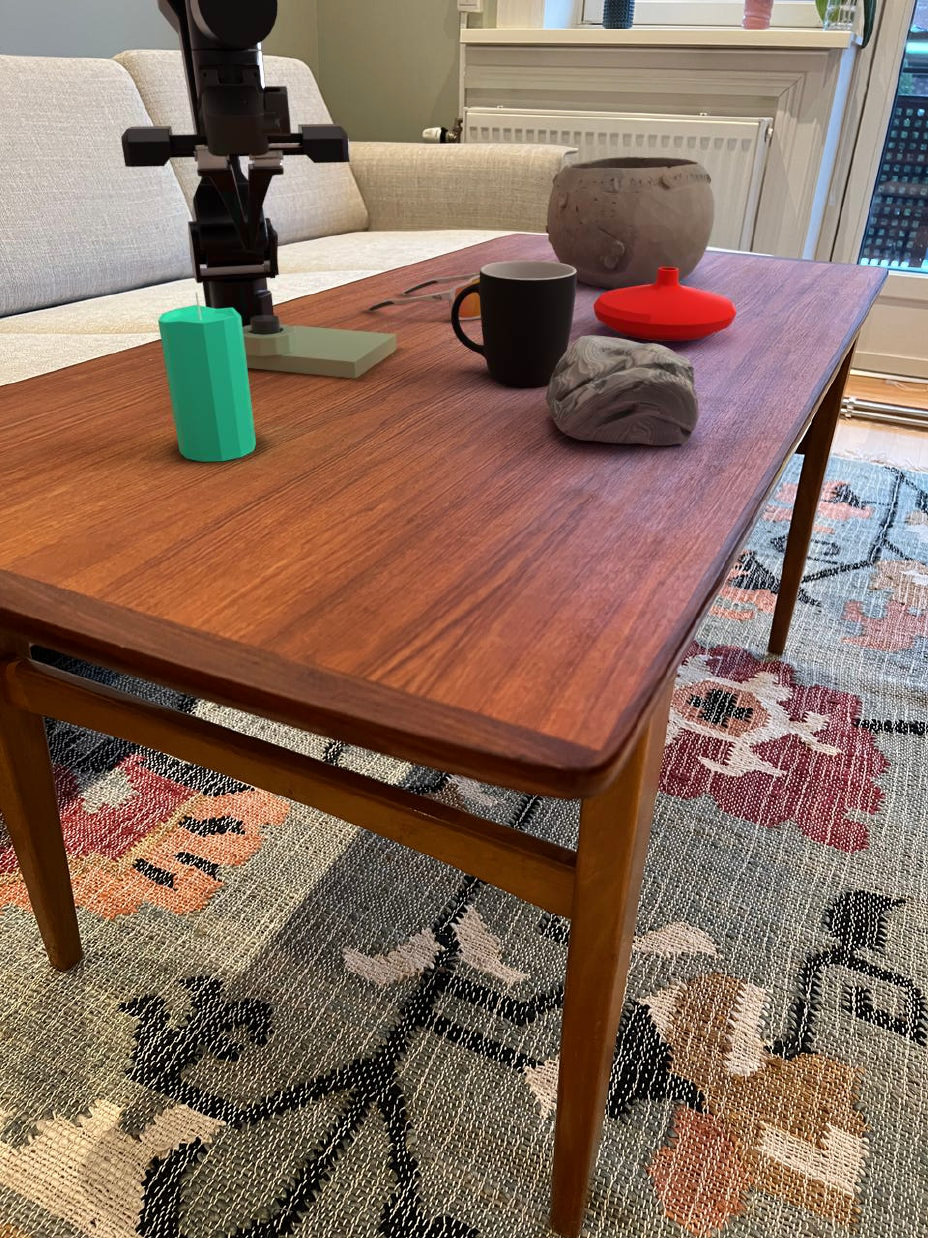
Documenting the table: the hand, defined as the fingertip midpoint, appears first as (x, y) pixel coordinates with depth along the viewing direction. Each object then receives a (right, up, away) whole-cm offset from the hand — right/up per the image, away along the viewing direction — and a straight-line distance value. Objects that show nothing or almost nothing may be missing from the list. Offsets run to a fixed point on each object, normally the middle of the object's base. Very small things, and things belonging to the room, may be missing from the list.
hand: (249, 251), depth 85 cm
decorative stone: (+33, -17, -6) cm, 38 cm away
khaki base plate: (+5, -7, +12) cm, 14 cm away
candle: (0, -20, -10) cm, 23 cm away
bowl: (+42, +15, +47) cm, 65 cm away
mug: (+24, -10, +6) cm, 27 cm away
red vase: (+42, -2, +20) cm, 47 cm away
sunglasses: (+16, +5, +31) cm, 35 cm away
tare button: (0, -5, +8) cm, 9 cm away
